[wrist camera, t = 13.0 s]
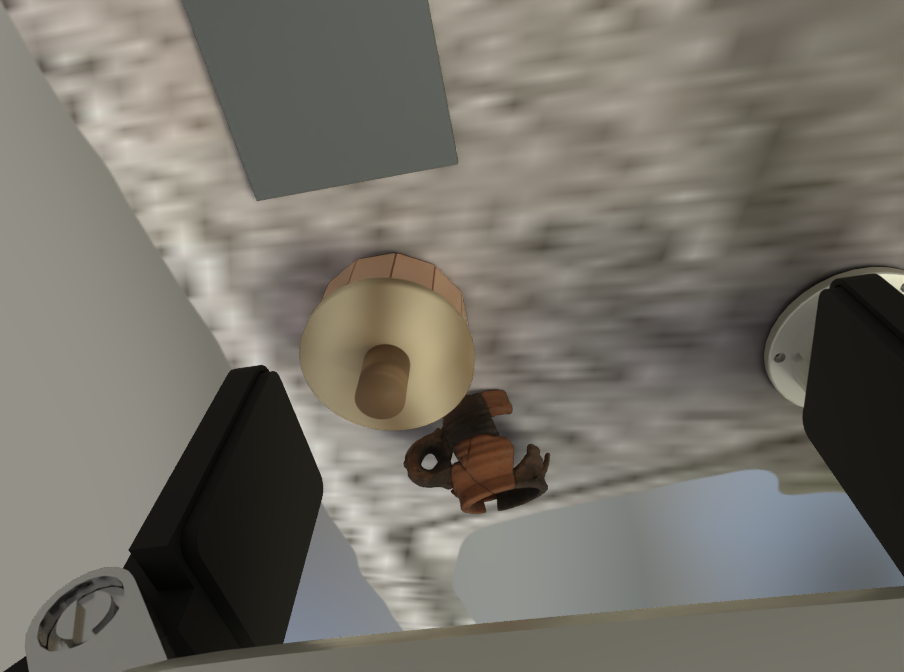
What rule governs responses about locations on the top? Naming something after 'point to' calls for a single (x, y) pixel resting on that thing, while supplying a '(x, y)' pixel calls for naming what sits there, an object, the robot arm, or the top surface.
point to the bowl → (400, 276)
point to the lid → (387, 354)
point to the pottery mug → (478, 457)
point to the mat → (326, 89)
